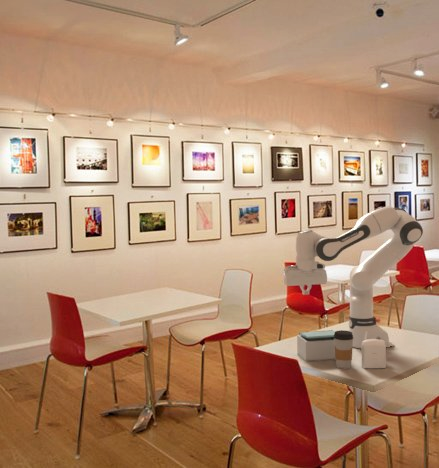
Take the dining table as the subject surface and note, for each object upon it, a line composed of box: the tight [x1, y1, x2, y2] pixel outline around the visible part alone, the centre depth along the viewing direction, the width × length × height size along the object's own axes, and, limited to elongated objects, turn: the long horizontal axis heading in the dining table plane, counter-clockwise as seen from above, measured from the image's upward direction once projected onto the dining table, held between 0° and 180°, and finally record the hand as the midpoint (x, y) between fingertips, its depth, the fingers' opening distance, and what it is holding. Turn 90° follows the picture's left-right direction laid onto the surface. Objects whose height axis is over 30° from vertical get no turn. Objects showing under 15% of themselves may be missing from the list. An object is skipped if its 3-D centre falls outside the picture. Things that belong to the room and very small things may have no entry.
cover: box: [298, 329, 336, 338], centre depth 246 cm, size 16×12×1 cm
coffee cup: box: [334, 330, 354, 370], centre depth 231 cm, size 8×8×15 cm
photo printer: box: [360, 339, 387, 369], centre depth 229 cm, size 10×4×12 cm, turn 86°
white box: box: [296, 334, 336, 362], centre depth 247 cm, size 18×12×9 cm
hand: (305, 294), depth 251 cm, fingers closed
